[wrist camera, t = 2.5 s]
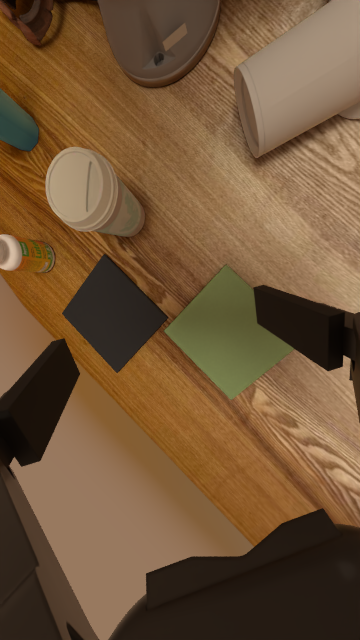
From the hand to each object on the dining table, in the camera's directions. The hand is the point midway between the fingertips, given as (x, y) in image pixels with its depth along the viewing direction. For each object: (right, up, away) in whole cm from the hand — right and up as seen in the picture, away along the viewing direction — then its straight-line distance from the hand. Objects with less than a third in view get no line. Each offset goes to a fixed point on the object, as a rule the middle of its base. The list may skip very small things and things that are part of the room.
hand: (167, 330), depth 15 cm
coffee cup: (-7, +17, +20) cm, 27 cm away
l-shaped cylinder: (+17, +29, +11) cm, 36 cm away
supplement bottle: (-24, +12, +26) cm, 37 cm away
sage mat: (+8, -1, +18) cm, 20 cm away
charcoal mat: (-11, +2, +24) cm, 26 cm away
